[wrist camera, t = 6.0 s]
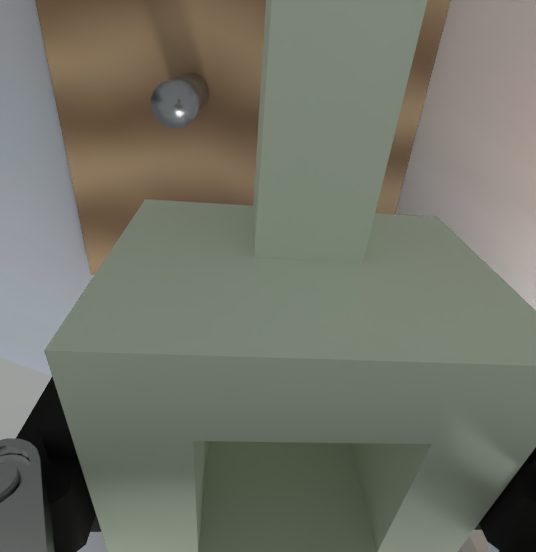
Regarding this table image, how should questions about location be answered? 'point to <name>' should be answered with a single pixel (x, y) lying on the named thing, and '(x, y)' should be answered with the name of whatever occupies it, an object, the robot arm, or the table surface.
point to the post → (179, 100)
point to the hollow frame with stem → (301, 334)
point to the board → (207, 123)
